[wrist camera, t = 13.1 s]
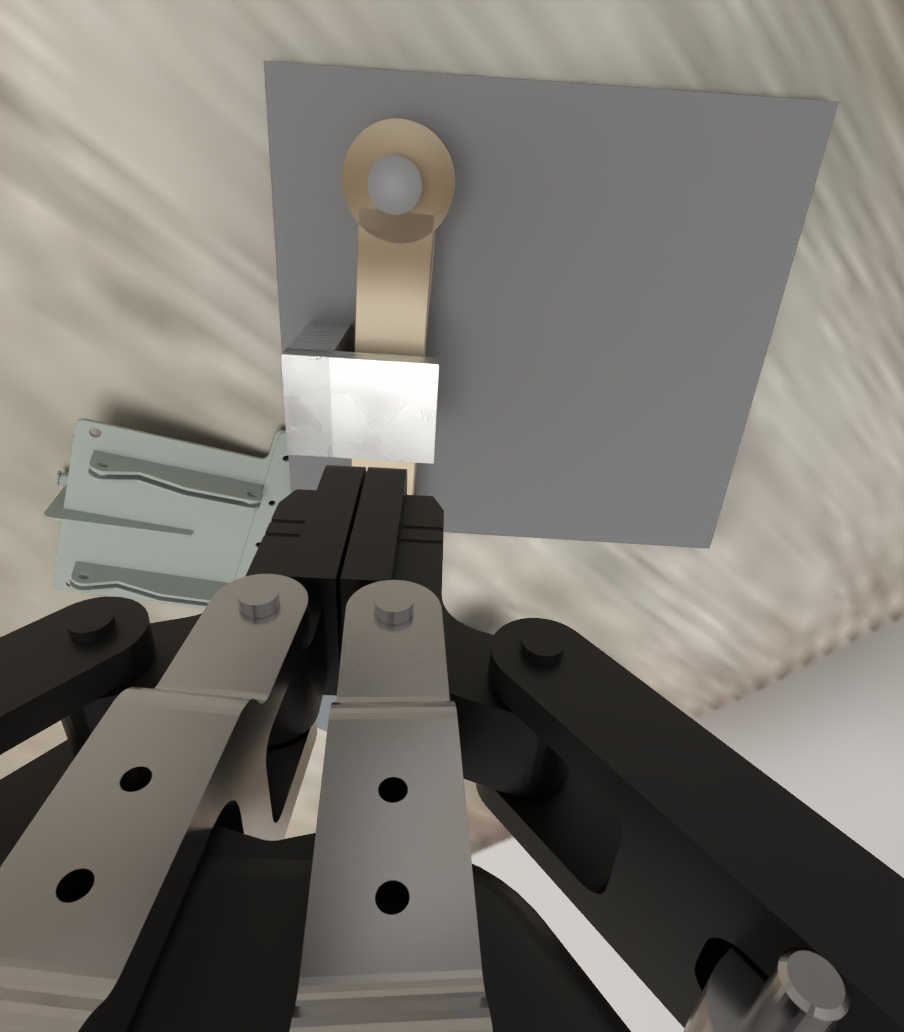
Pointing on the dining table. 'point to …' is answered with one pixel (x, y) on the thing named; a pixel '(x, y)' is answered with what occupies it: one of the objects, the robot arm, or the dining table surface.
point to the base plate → (562, 282)
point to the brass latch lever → (396, 246)
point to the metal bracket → (161, 514)
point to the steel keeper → (357, 399)
